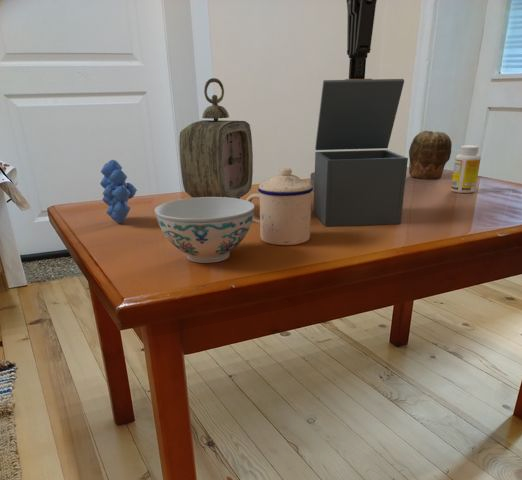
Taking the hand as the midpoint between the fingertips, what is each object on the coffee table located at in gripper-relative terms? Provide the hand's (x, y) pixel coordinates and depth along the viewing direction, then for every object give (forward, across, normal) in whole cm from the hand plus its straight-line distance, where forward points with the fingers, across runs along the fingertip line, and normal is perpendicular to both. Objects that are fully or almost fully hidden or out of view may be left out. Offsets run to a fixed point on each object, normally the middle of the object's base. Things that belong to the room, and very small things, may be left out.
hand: (355, 97), depth 97 cm
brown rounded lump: (+22, -37, +31) cm, 53 cm away
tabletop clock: (+22, -1, -27) cm, 35 cm away
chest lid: (+3, +3, 0) cm, 4 cm away
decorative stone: (+22, -19, +2) cm, 29 cm away
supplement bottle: (+22, -16, +32) cm, 42 cm away
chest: (+21, +6, 0) cm, 22 cm away
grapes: (+22, +4, -46) cm, 51 cm away
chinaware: (+22, +28, -29) cm, 46 cm away
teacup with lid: (+22, +19, -17) cm, 33 cm away
